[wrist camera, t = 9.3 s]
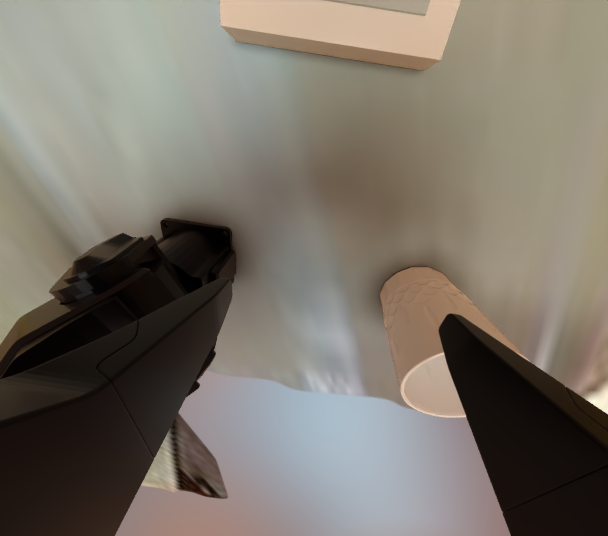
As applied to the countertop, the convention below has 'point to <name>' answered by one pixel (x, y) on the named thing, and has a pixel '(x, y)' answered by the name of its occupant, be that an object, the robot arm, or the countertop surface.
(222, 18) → the base
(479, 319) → the beige textured cup
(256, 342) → the countertop surface
